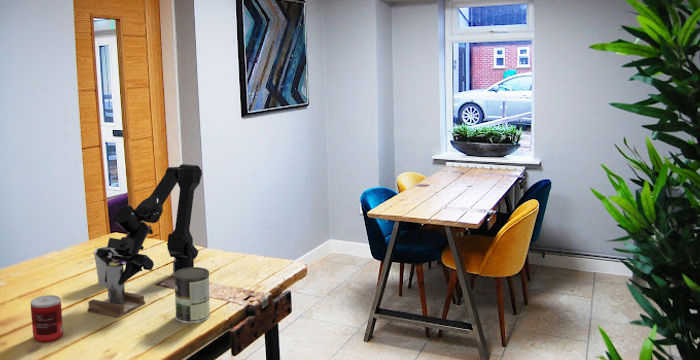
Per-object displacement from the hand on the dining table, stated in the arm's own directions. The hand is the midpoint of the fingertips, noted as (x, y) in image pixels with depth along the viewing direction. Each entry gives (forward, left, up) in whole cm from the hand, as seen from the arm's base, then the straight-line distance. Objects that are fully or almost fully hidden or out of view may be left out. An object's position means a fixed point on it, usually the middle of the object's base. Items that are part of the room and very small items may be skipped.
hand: (112, 283), depth 205 cm
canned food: (+19, +14, -9) cm, 25 cm away
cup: (-1, -24, -9) cm, 26 cm away
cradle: (-1, -1, -8) cm, 8 cm away
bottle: (-1, -1, -7) cm, 7 cm away
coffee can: (-21, +16, -9) cm, 28 cm away
